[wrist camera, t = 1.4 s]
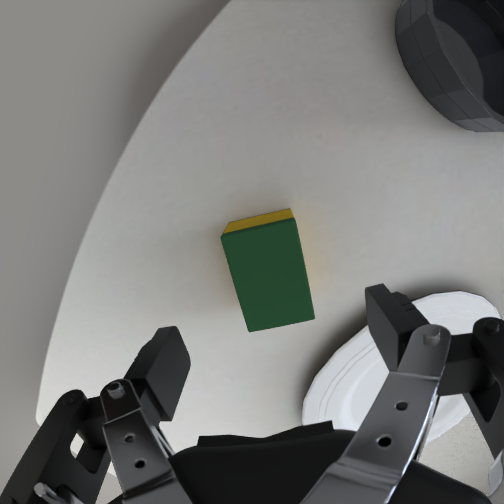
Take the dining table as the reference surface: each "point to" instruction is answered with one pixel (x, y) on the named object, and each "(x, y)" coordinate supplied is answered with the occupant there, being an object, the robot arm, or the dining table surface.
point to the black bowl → (456, 58)
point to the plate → (375, 370)
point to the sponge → (268, 270)
